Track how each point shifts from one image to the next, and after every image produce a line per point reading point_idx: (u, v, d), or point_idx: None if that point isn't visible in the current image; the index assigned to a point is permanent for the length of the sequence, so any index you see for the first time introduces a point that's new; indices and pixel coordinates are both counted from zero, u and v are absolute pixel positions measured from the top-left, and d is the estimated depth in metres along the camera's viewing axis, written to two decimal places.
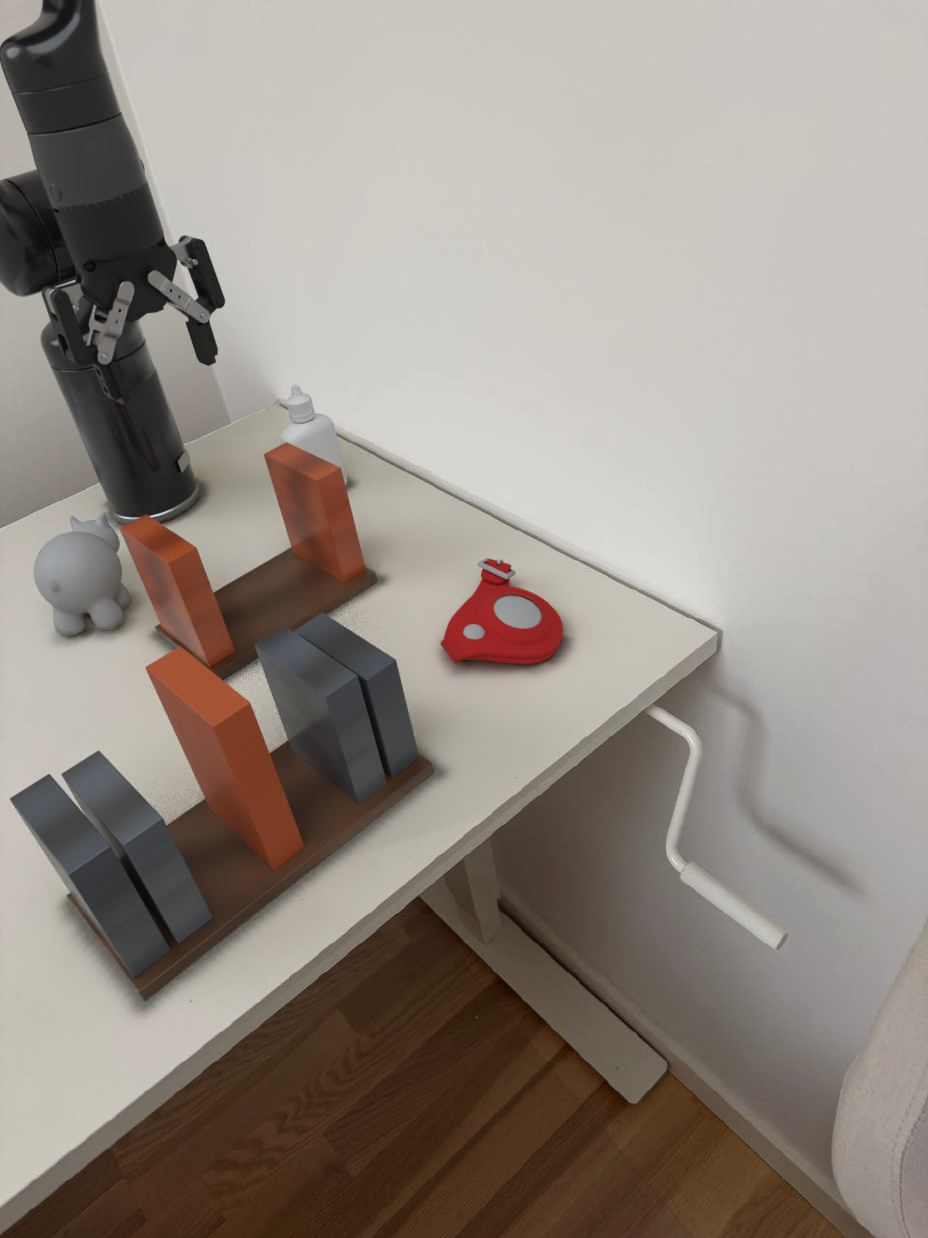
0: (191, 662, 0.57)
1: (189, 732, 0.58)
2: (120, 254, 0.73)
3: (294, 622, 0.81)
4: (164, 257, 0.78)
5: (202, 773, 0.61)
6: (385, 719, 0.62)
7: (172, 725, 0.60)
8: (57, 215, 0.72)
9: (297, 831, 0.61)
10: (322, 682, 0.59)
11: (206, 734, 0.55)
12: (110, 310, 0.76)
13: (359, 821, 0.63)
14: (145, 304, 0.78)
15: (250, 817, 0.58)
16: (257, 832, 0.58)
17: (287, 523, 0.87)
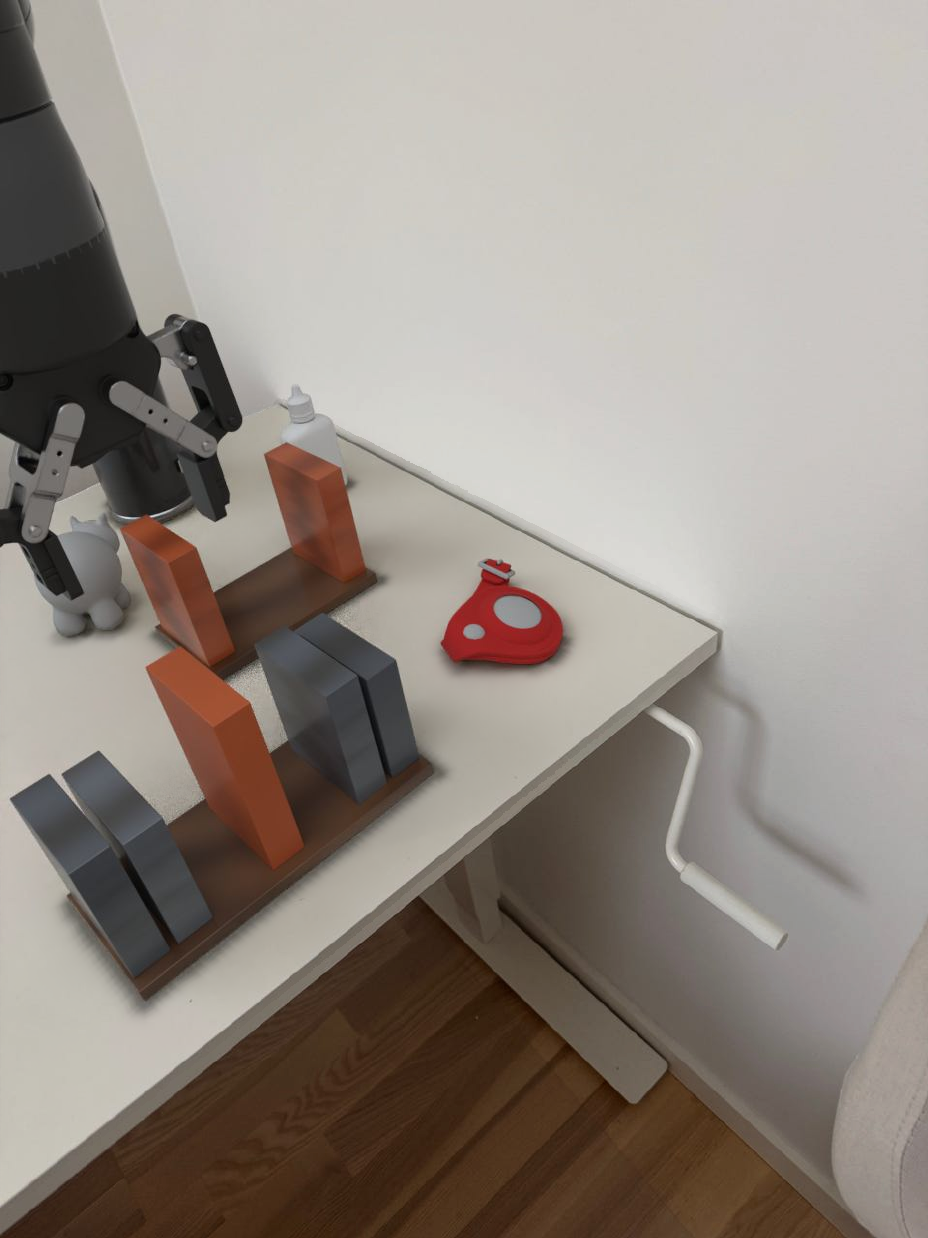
0: (191, 662, 0.57)
1: (189, 732, 0.58)
2: (55, 362, 0.40)
3: (294, 622, 0.81)
4: (138, 356, 0.45)
5: (202, 773, 0.61)
6: (385, 719, 0.62)
7: (172, 725, 0.60)
8: None
9: (297, 831, 0.61)
10: (322, 682, 0.59)
11: (206, 734, 0.55)
12: (42, 453, 0.43)
13: (359, 821, 0.63)
14: (106, 437, 0.45)
15: (250, 817, 0.58)
16: (257, 832, 0.58)
17: (287, 523, 0.87)
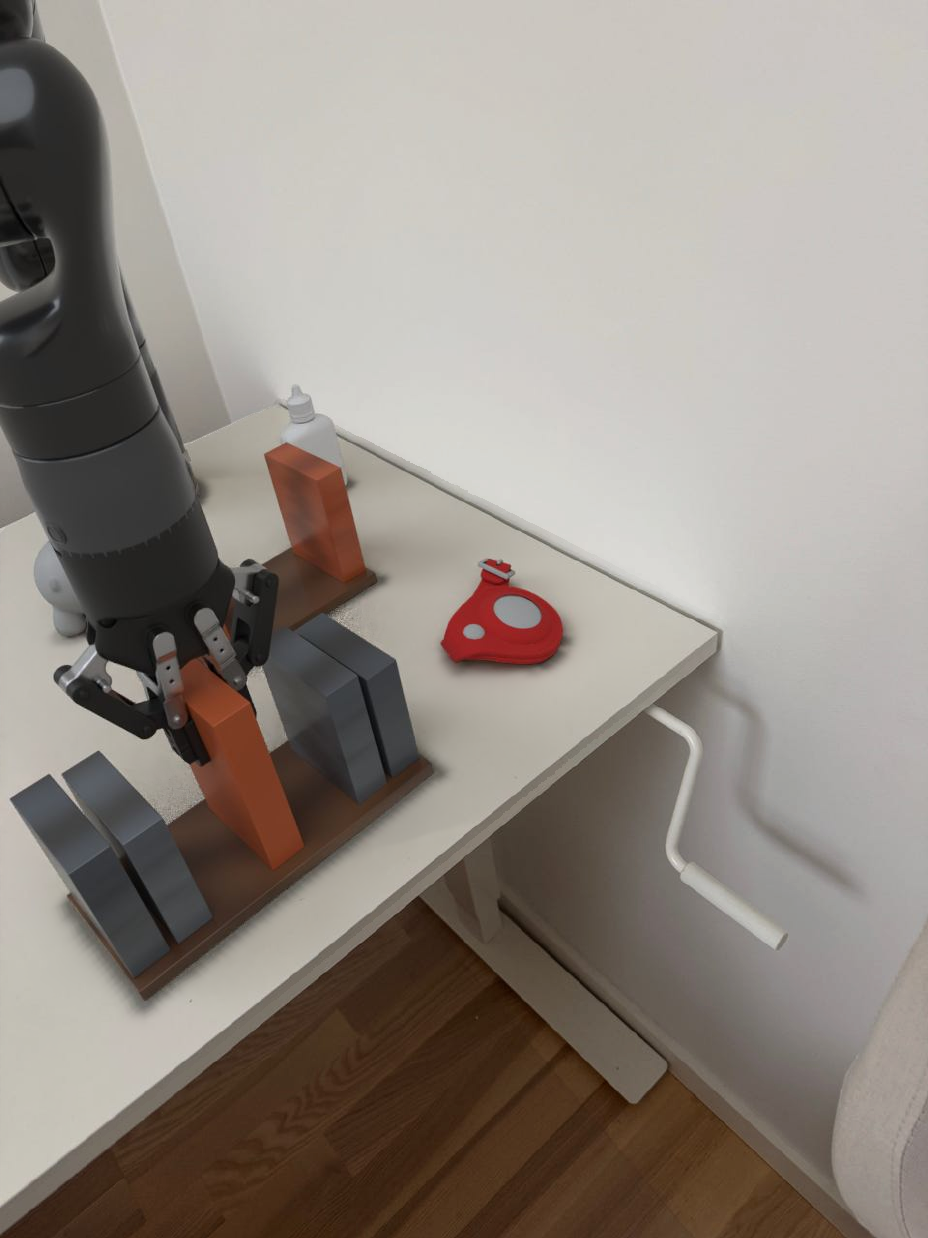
0: (191, 662, 0.57)
1: None
2: (155, 611, 0.48)
3: (294, 622, 0.81)
4: (217, 583, 0.53)
5: (202, 773, 0.61)
6: (385, 719, 0.62)
7: None
8: (59, 557, 0.47)
9: (297, 831, 0.61)
10: (322, 682, 0.59)
11: (206, 734, 0.55)
12: (156, 673, 0.52)
13: (359, 821, 0.63)
14: (189, 650, 0.53)
15: (250, 817, 0.58)
16: (257, 832, 0.58)
17: (287, 523, 0.87)
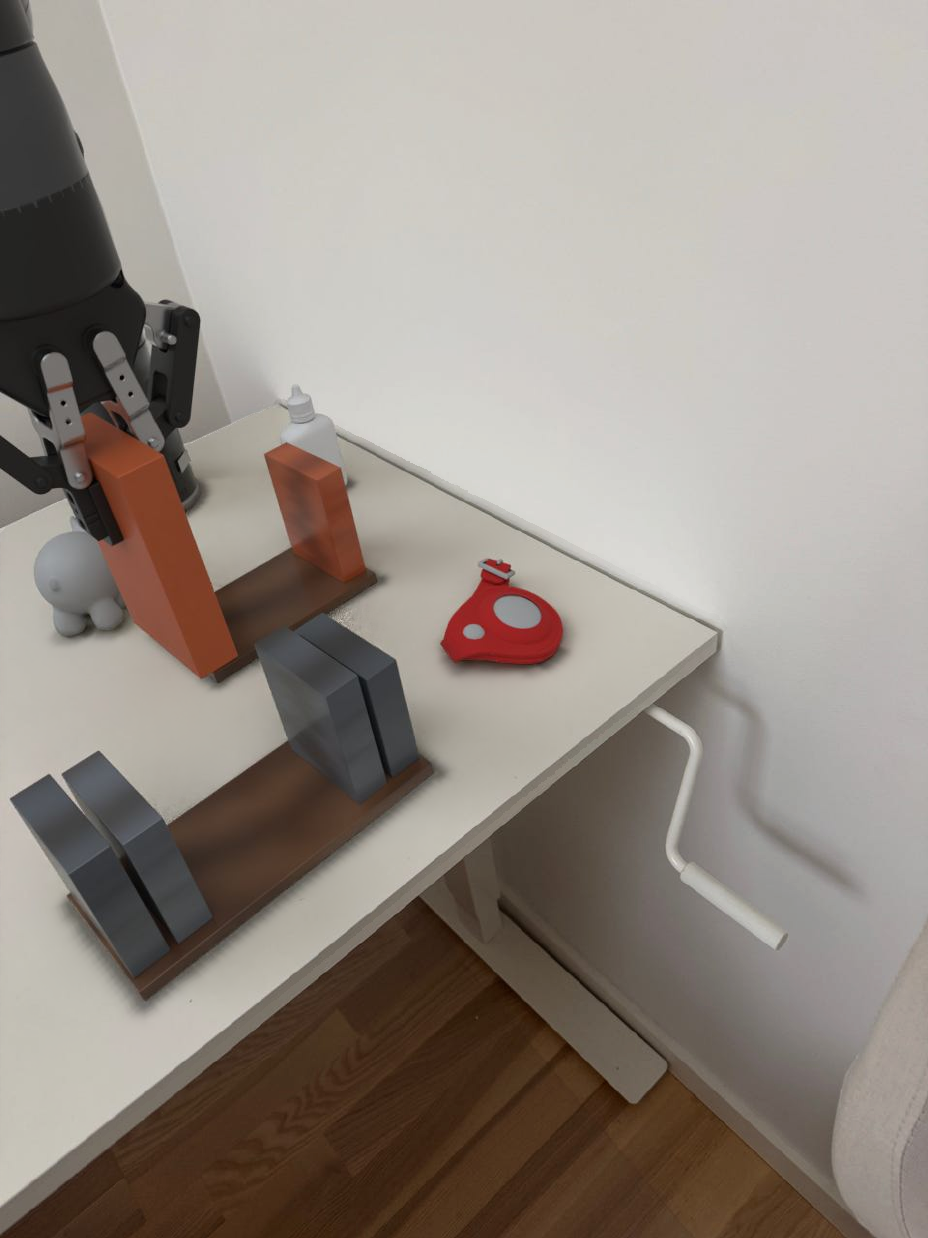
0: (101, 424, 0.49)
1: None
2: (37, 309, 0.40)
3: (294, 622, 0.81)
4: (123, 307, 0.45)
5: (120, 569, 0.53)
6: (385, 719, 0.62)
7: None
8: None
9: (228, 634, 0.53)
10: (322, 682, 0.59)
11: (114, 496, 0.47)
12: (49, 409, 0.44)
13: (359, 821, 0.63)
14: (90, 388, 0.45)
15: (170, 606, 0.50)
16: (179, 626, 0.50)
17: (287, 523, 0.87)
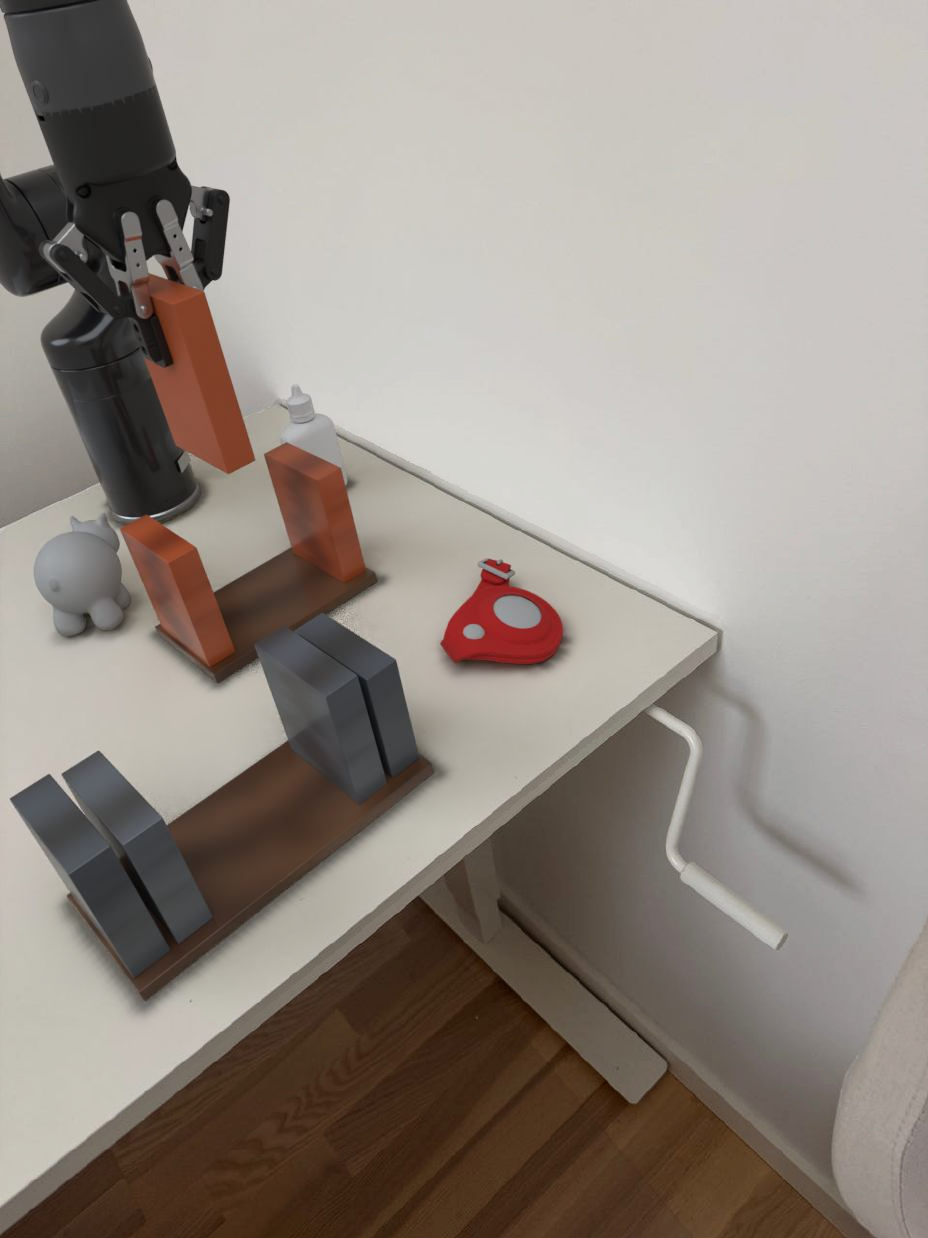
0: (156, 278, 0.68)
1: None
2: (122, 175, 0.58)
3: (294, 622, 0.81)
4: (176, 184, 0.63)
5: (168, 394, 0.72)
6: (385, 719, 0.62)
7: None
8: (43, 124, 0.57)
9: (248, 441, 0.71)
10: (322, 682, 0.59)
11: (168, 323, 0.65)
12: (125, 255, 0.62)
13: (359, 821, 0.63)
14: (152, 243, 0.64)
15: (206, 411, 0.68)
16: (213, 428, 0.69)
17: (287, 523, 0.87)
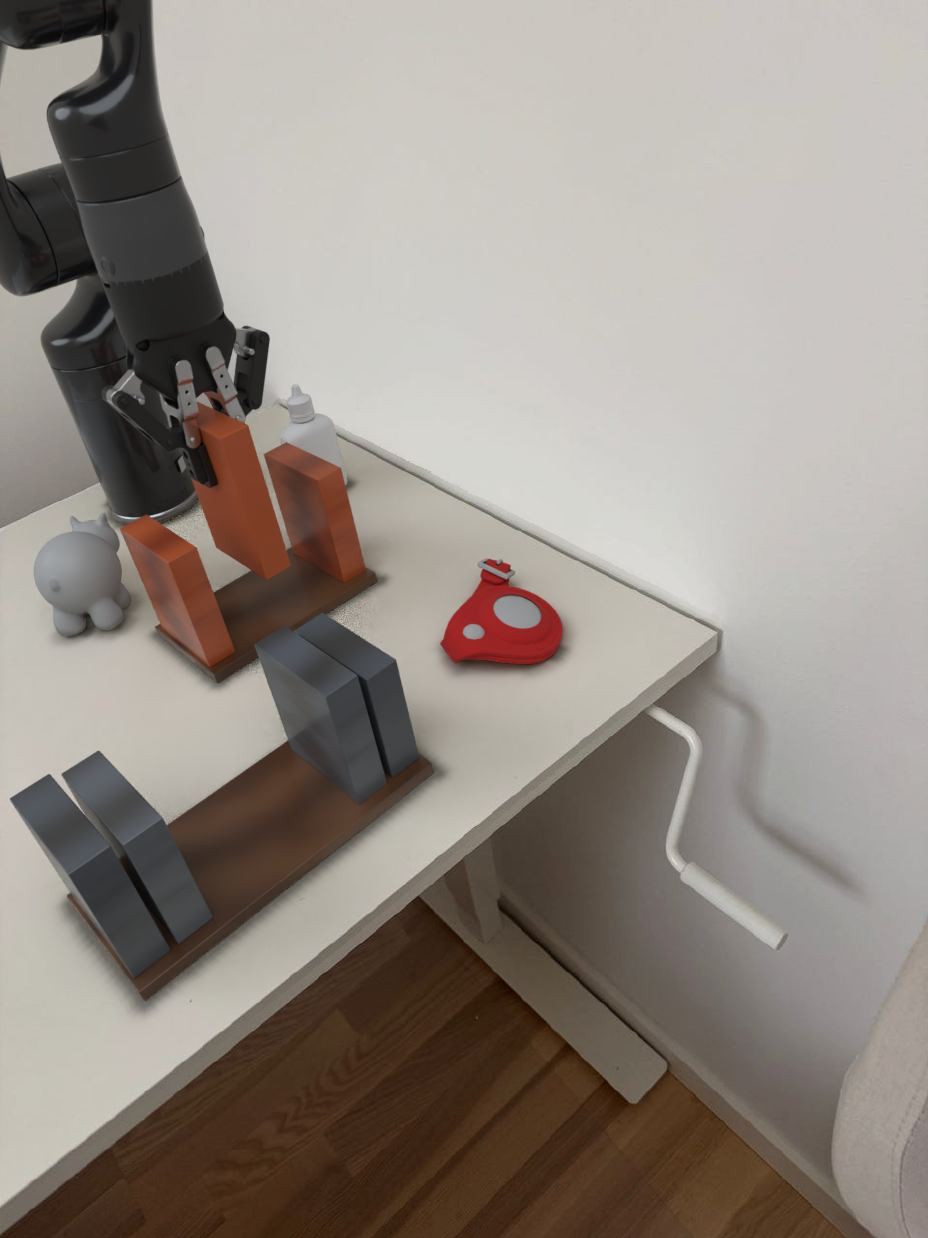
0: (203, 407, 0.75)
1: None
2: (178, 333, 0.65)
3: (294, 622, 0.81)
4: (223, 331, 0.70)
5: (211, 507, 0.79)
6: (385, 719, 0.62)
7: None
8: (108, 290, 0.64)
9: (285, 549, 0.78)
10: (322, 682, 0.59)
11: (215, 452, 0.72)
12: (177, 396, 0.69)
13: (359, 821, 0.63)
14: (201, 383, 0.71)
15: (248, 527, 0.75)
16: (254, 541, 0.76)
17: (287, 523, 0.87)
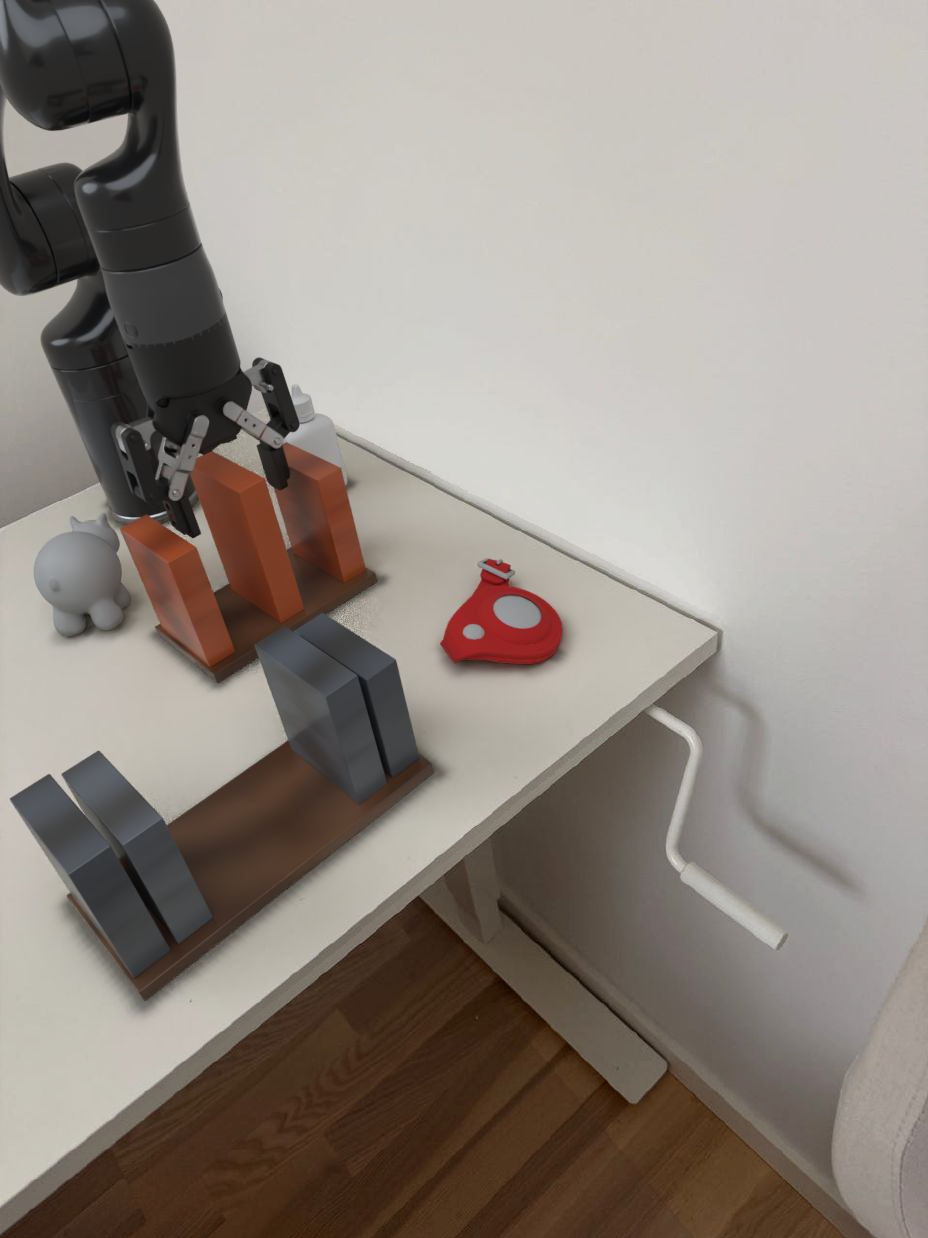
0: (220, 459, 0.78)
1: (219, 512, 0.78)
2: (197, 391, 0.68)
3: (294, 622, 0.81)
4: (239, 386, 0.73)
5: (227, 552, 0.82)
6: (385, 719, 0.62)
7: (205, 514, 0.81)
8: (130, 351, 0.67)
9: (299, 594, 0.81)
10: (322, 682, 0.59)
11: (232, 504, 0.75)
12: (183, 445, 0.71)
13: (359, 821, 0.63)
14: (218, 435, 0.73)
15: (264, 574, 0.78)
16: (269, 587, 0.79)
17: (287, 523, 0.87)
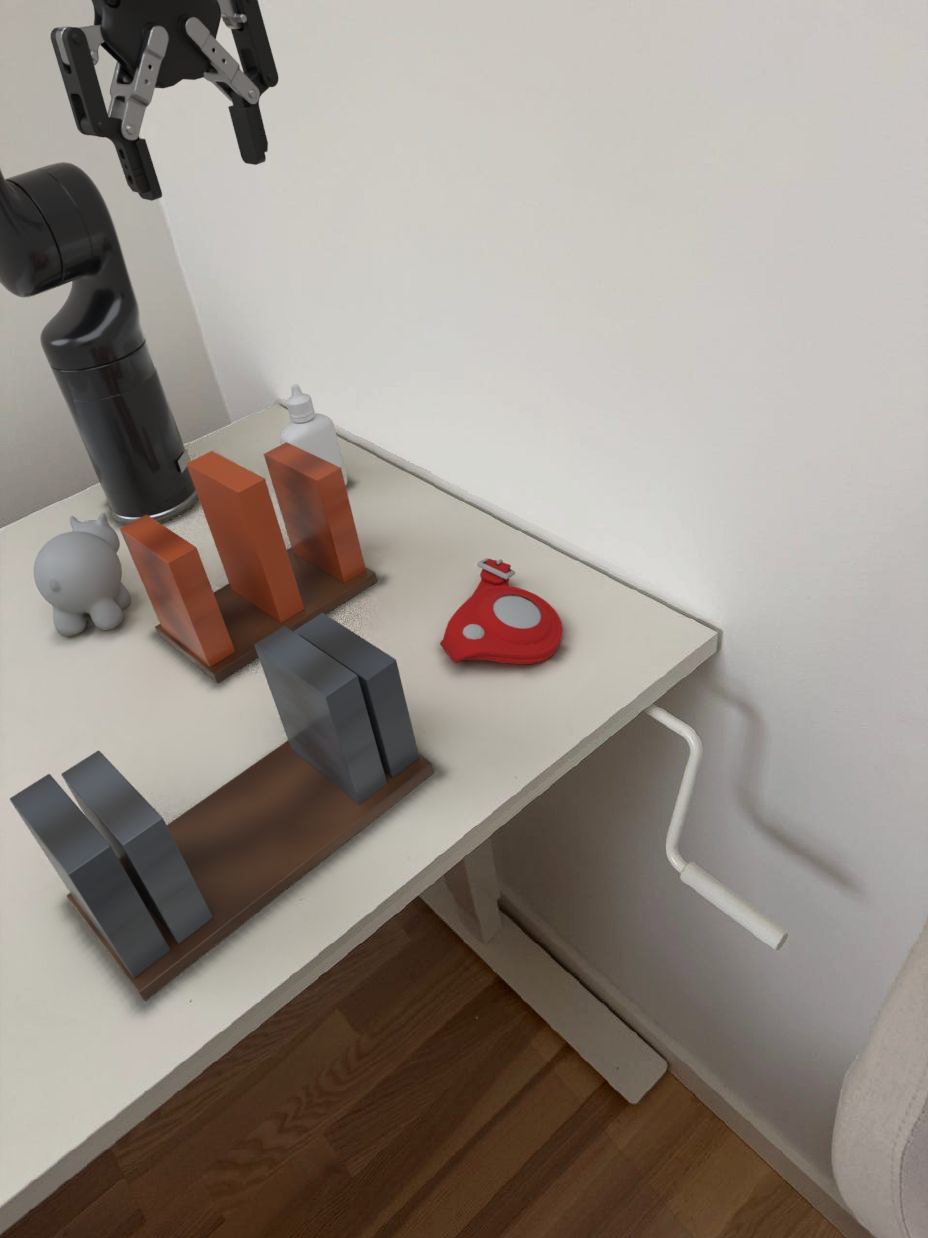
0: (220, 459, 0.78)
1: (219, 512, 0.78)
2: None
3: (294, 622, 0.81)
4: (205, 4, 0.62)
5: (227, 552, 0.82)
6: (385, 719, 0.62)
7: (205, 514, 0.81)
8: None
9: (299, 594, 0.81)
10: (322, 682, 0.59)
11: (232, 504, 0.75)
12: (138, 65, 0.60)
13: (359, 821, 0.63)
14: (181, 65, 0.62)
15: (264, 574, 0.78)
16: (269, 587, 0.79)
17: (287, 523, 0.87)
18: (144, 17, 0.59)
